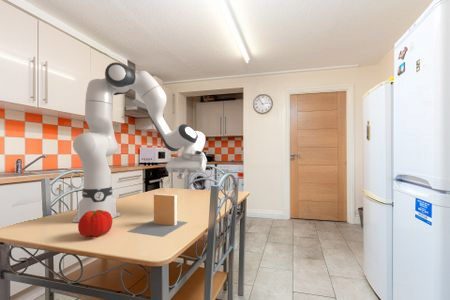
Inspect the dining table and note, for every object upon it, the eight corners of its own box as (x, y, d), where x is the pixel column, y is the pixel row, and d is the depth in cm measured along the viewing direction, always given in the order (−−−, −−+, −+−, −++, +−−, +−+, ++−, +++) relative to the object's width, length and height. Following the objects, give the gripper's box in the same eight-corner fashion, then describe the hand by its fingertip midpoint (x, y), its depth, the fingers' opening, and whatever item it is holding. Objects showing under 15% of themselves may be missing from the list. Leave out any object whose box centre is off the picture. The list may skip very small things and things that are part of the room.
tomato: (77, 234, 84) (77, 210, 85) (109, 228, 91) (109, 206, 91) (79, 243, 76) (79, 217, 76) (115, 236, 82) (115, 212, 83)
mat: (156, 219, 103) (156, 218, 103) (188, 223, 97) (188, 222, 97) (126, 232, 86) (126, 231, 86) (162, 238, 80) (162, 236, 80)
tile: (156, 221, 98) (156, 193, 98) (177, 224, 95) (176, 195, 95) (153, 223, 96) (153, 194, 96) (174, 225, 93) (174, 195, 93)
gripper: (170, 152, 118) (158, 173, 108) (206, 152, 111) (197, 174, 101) (174, 160, 122) (163, 181, 112) (210, 161, 115) (201, 183, 105)
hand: (180, 178), depth 107 cm, fingers closed
